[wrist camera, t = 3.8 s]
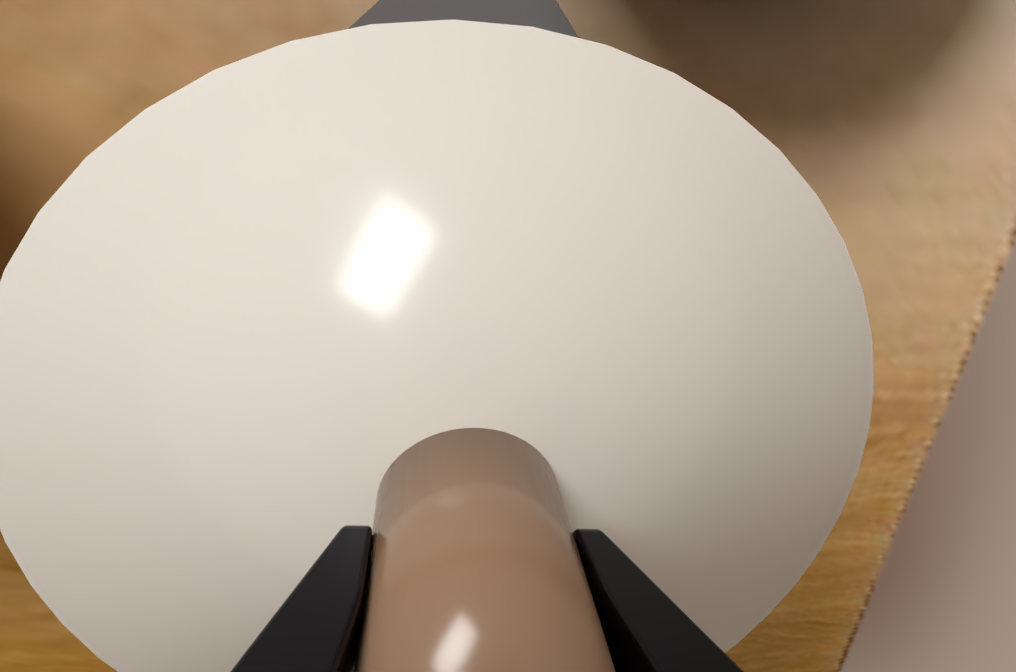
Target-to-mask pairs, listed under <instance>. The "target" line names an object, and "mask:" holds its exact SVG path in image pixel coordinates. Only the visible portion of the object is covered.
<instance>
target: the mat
mask: <svg viewBox="0 0 1016 672" xmlns="http://www.w3.org/2000/svg"><path fill="white" fill-rule="evenodd" d="M452 19H454V20H465V21H476V22H487V23H498V24H509V25H520V26H531V27H536V28H540V29H544V30H548V31H552V32H556V33H560V34H564V35H569V36H573V37H577V38H578V36H577V35H576V33H575V31H574V30H573V28H572V26H571V25H570V23H569V21H568V20H567V18H566V17H565V15H564V13H563V12H562V10H561V8H560V7H559V5H558V3H557V2H556V0H379V1H378V2H377V3H376V4H375V5H374V6H373V7H372V8H371V9H370V10H368V11H367V12H366V13H365V14H364V15H363V16H362V17H361V18H360V19H359V20H357V21H356V22H355V23H354V24H353V25H352V26H351V27H350V28H349V29H351V28H356V27H360V26H365V25H370V24H383V23H401V22H418V21H435V20H452Z"/></svg>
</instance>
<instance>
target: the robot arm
mask: <svg viewBox="0 0 1016 672" xmlns="http://www.w3.org/2000/svg"><path fill="white" fill-rule="evenodd" d="M573 536H574V539H575V542H576V545H577V549H578V552H579V555H580V558H581V562H582V565H583V568H584V571H585V574H586V578H587V581H588V584H589V587H590V590H591V594H592V597H593V600H594V603H595V607H596V610H597V613H598V616H599V619H600V623H601V626H602V629H603V632H604V635H605V639H606V642H607V645H608V648H609V652H610V655H611V658H612V661H613V664H614V668H615V671H616V672H743V671H742V670H741V669H740V668H739V667H738V666H737V665H736V664H735V663H734V662H733V661H732V660H731V659H730V658H729V657H728V656H727V655H726V654H725V653H724V652H723V651H722V650H721V649H720V648H719V647H718V646H717V645H716V644H715V643H714V642H713V641H712V640H711V639H710V638H709V637H708V636H707V635H706V634H705V633H704V632H703V631H702V630H701V629H700V628H699V627H698V626H697V625H696V624H695V623H694V622H693V621H692V620H691V619H690V618H689V617H688V616H687V615H686V614H685V613H684V612H683V611H682V610H681V609H680V608H679V607H678V606H677V605H676V604H675V603H674V602H673V601H672V600H671V599H670V598H669V597H668V596H667V595H666V594H665V593H664V592H663V591H662V590H661V589H660V588H659V587H658V586H657V585H656V584H655V583H654V582H653V581H652V580H651V579H650V578H649V577H648V576H647V575H646V574H645V573H644V572H643V571H642V570H641V569H640V568H639V567H638V566H637V565H636V564H635V563H634V562H633V561H632V560H631V559H630V558H629V557H628V556H627V555H626V554H625V553H624V552H623V551H622V550H621V549H620V548H619V547H618V546H617V545H616V544H615V543H614V542H613V541H612V540H611V539H610V538H609V537H608V536H607V535H606V534H605V533H603V532H602V531H601V530H598V529H576V530H574V532H573ZM371 542H372V528H371V527H370V526H365V525H346V526H344V527H342V528H341V529H340V530H339V532H338V533H337V534H336V535H335V537H334V538H333V539H332V541H331V542H330V543H329V545H328V546H327V547H326V548H325V550H324V551H323V552H322V554H321V555H320V556H319V557H318V559H317V560H316V561H315V563H314V564H313V565H312V566H311V568H310V569H309V570H308V572H307V573H306V574H305V576H304V577H303V578H302V579H301V581H300V582H299V583H298V585H297V586H296V587H295V588H294V590H293V591H292V592H291V594H290V595H289V596H288V597H287V599H286V600H285V601H284V603H283V604H282V605H281V607H280V608H279V609H278V610H277V612H276V613H275V614H274V616H273V617H272V618H271V619H270V621H269V622H268V623H267V625H266V626H265V627H264V629H263V630H262V631H261V632H260V634H259V635H258V636H257V638H256V639H255V640H254V641H253V643H252V644H251V645H250V647H249V648H248V649H247V650H246V652H245V653H244V654H243V656H242V657H241V658H240V660H239V661H238V662H237V663H236V665H235V666H234V667H233V669H232V670H231V671H230V672H354V668H355V660H356V652H357V645H358V637H359V630H360V624H361V618H362V611H363V604H364V596H365V588H366V581H367V573H368V565H369V557H370V549H371Z"/></svg>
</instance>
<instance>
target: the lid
mask: <svg viewBox="0 0 1016 672" xmlns="http://www.w3.org/2000/svg"><path fill="white" fill-rule="evenodd" d="M873 390H874V369H873V343H872V334H871V329H870V324H869V319H868V314H867V309H866V304H865V299H864V294H863V290H862V287H861V284H860V282H859V279H858V276H857V274H856V271H855V268H854V266H853V263H852V260H851V258H850V255H849V252H848V250H847V247H846V244H845V242H844V240H843V238H842V237H841V235H840V233H839V232H838V230H837V228H836V226H835V225H834V223H833V221H832V220H831V218H830V216H829V214H828V213H827V211H826V209H825V207H824V206H823V204H822V202H821V201H820V199H819V197H818V195H817V194H816V193H815V192H814V190H813V189H812V188H811V187H810V186H809V184H808V183H807V182H806V181H805V180H804V178H803V177H802V176H801V175H800V174H799V172H798V171H797V170H796V169H795V168H794V166H793V165H792V164H791V163H790V162H789V160H788V159H787V158H786V157H785V155H784V154H783V153H782V152H781V151H780V150H779V149H778V148H777V147H776V146H775V145H774V144H772V143H771V142H770V141H769V140H768V139H767V138H766V137H764V136H763V135H762V134H761V133H760V132H759V131H757V130H756V129H755V128H754V127H753V126H752V125H751V124H749V123H748V122H747V121H746V120H745V119H744V118H742V117H741V116H740V115H739V114H738V113H737V112H735V111H734V110H733V109H732V108H730V107H729V106H727V105H726V104H724V103H722V102H721V101H719V100H717V99H716V98H714V97H713V96H711V95H709V94H708V93H706V92H704V91H703V90H701V89H700V88H698V87H696V86H695V85H693V84H691V83H690V82H688V81H687V80H685V79H683V78H682V77H680V76H678V75H677V74H675V73H673V72H671V71H668V70H666V69H664V68H661V67H659V66H656V65H654V64H652V63H649V62H647V61H644V60H642V59H640V58H637V57H635V56H632V55H630V54H628V53H625V52H623V51H620V50H618V49H616V48H613V47H611V46H608V45H605V44H601V43H597V42H593V41H589V40H585V39H581V38H577V37H573V36H569V35H564V34H560V33H556V32H552V31H548V30H544V29H540V28H536V27H531V26H520V25H509V24H498V23H487V22H476V21H465V20H454V19H452V20H435V21H418V22H401V23H383V24H370V25H365V26H360V27H356V28H351V29H346V30H341V31H337V32H332V33H327V34H322V35H318V36H313V37H308V38H303V39H299V40H294V41H290V42H287V43H284V44H282V45H279V46H276V47H274V48H271V49H268V50H266V51H263V52H260V53H258V54H255V55H253V56H250V57H247V58H245V59H242V60H239V61H237V62H234V63H231V64H229V65H226V66H223V67H221V68H218V69H215V70H213V71H211V72H210V73H208V74H206V75H204V76H203V77H201V78H199V79H197V80H196V81H194V82H192V83H190V84H189V85H187V86H185V87H183V88H182V89H180V90H178V91H176V92H175V93H173V94H171V95H169V96H168V97H166V98H164V99H162V100H161V101H159V102H157V103H155V104H154V105H152V106H150V107H148V108H147V109H145V110H144V111H142V112H141V113H140V114H139V115H137V116H136V117H135V118H134V119H132V120H131V121H130V122H129V123H128V124H126V125H125V126H124V127H123V128H121V129H120V130H119V131H118V132H116V133H115V134H114V135H113V136H112V137H110V138H109V139H108V140H107V141H105V142H104V143H103V144H102V145H101V146H99V147H98V148H97V149H96V150H94V151H93V152H92V153H91V154H89V155H88V156H87V157H86V158H85V159H84V160H83V161H82V162H81V164H80V165H79V166H78V167H77V168H76V169H75V171H74V172H73V173H72V174H71V175H70V176H69V177H68V179H67V180H66V181H65V182H64V183H63V184H62V186H61V187H60V188H59V189H58V190H57V191H56V192H55V194H54V195H53V196H52V197H51V198H50V199H49V200H48V202H47V203H46V204H45V205H44V206H43V207H42V209H41V210H40V211H39V212H38V214H37V216H36V217H35V219H34V221H33V222H32V224H31V226H30V227H29V229H28V231H27V233H26V234H25V236H24V238H23V239H22V241H21V243H20V244H19V246H18V248H17V249H16V251H15V253H14V254H13V256H12V258H11V259H10V261H9V263H8V264H7V266H6V268H5V270H4V273H3V275H2V278H1V281H0V530H1V533H2V535H3V538H4V540H5V543H6V544H7V546H8V548H9V549H10V551H11V553H12V554H13V556H14V558H15V559H16V561H17V563H18V564H19V566H20V568H21V569H22V571H23V573H24V574H25V576H26V578H27V579H28V581H29V583H30V585H31V586H32V587H33V588H34V590H35V591H36V592H37V593H38V595H39V596H40V597H41V598H42V600H43V601H44V602H45V603H46V604H47V606H48V607H49V608H50V609H51V611H52V612H53V613H54V614H55V615H56V617H57V618H58V619H59V620H60V622H61V623H62V624H63V625H64V626H65V627H66V628H67V629H68V630H69V631H71V632H72V633H73V634H74V635H75V636H76V637H77V638H78V639H79V640H80V641H81V642H82V643H83V644H84V645H85V646H86V647H88V648H89V649H90V650H91V651H92V652H93V653H94V654H95V655H96V656H97V657H98V658H100V659H101V660H103V661H104V662H105V663H107V664H108V665H109V666H111V667H112V668H114V669H115V670H116V671H118V672H230V671H231V670H232V669H233V667H234V666H235V665H236V663H237V662H238V661H239V660H240V658H241V657H242V656H243V654H244V653H245V652H246V650H247V649H248V648H249V647H250V645H251V644H252V643H253V641H254V640H255V639H256V638H257V636H258V635H259V634H260V632H261V631H262V630H263V629H264V627H265V626H266V625H267V623H268V622H269V621H270V619H271V618H272V617H273V616H274V614H275V613H276V612H277V610H278V609H279V608H280V607H281V605H282V604H283V603H284V601H285V600H286V599H287V597H288V596H289V595H290V594H291V592H292V591H293V590H294V588H295V587H296V586H297V585H298V583H299V582H300V581H301V579H302V578H303V577H304V576H305V574H306V573H307V572H308V570H309V569H310V568H311V566H312V565H313V564H314V563H315V561H316V560H317V559H318V557H319V556H320V555H321V554H322V552H323V551H324V550H325V548H326V547H327V546H328V545H329V543H330V542H331V541H332V539H333V538H334V537H335V535H336V534H337V533H338V532H339V530H340V529H341V528H342V527H344V526H346V525H365V526H370V527H371V528H372V542H371V549H370V557H369V565H368V573H367V581H366V588H365V596H364V604H363V611H362V618H361V624H360V630H359V637H358V645H357V652H356V660H355V668H354V672H616V671H615V668H614V664H613V661H612V658H611V655H610V652H609V648H608V645H607V642H606V639H605V635H604V632H603V629H602V626H601V623H600V619H599V616H598V613H597V610H596V607H595V603H594V600H593V597H592V594H591V590H590V587H589V584H588V581H587V578H586V574H585V571H584V568H583V565H582V562H581V558H580V555H579V552H578V549H577V545H576V542H575V539H574V536H573V532H574V530H576V529H598V530H601V531H602V532H603V533H605V534H606V535H607V536H608V537H609V538H610V539H611V540H612V541H613V542H614V543H615V544H616V545H617V546H618V547H619V548H620V549H621V550H622V551H623V552H624V553H625V554H626V555H627V556H628V557H629V558H630V559H631V560H632V561H633V562H634V563H635V564H636V565H637V566H638V567H639V568H640V569H641V570H642V571H643V572H644V573H645V574H646V575H647V576H648V577H649V578H650V579H651V580H652V581H653V582H654V583H655V584H656V585H657V586H658V587H659V588H660V589H661V590H662V591H663V592H664V593H665V594H666V595H667V596H668V597H669V598H670V599H671V600H672V601H673V602H674V603H675V604H676V605H677V606H678V607H679V608H680V609H681V610H682V611H683V612H684V613H685V614H686V615H687V616H688V617H689V618H690V619H691V620H692V621H693V622H694V623H695V624H696V625H697V626H698V627H699V628H700V629H701V630H702V631H703V632H704V633H705V634H706V635H707V636H708V637H709V638H710V639H711V640H712V641H713V642H714V643H715V644H716V645H717V646H718V647H719V648H720V649H721V650H722V651H723V652H724V653H726V652H727V651H728V650H730V649H731V648H732V647H734V646H735V645H736V644H737V643H739V642H740V641H741V640H742V639H743V638H744V637H745V636H746V635H748V634H749V633H750V632H751V631H752V630H753V629H754V628H755V627H756V626H757V625H758V624H759V623H760V622H762V621H763V620H764V619H765V618H766V617H767V616H768V615H769V614H770V613H771V612H772V611H773V610H774V609H775V607H776V606H777V605H778V604H779V603H780V602H781V601H782V599H783V598H784V597H785V596H786V595H787V594H788V593H789V592H790V590H791V589H792V588H793V587H794V586H795V585H796V584H797V582H798V581H799V580H800V578H801V577H802V575H803V574H804V573H805V571H806V570H807V568H808V567H809V566H810V564H811V563H812V561H813V560H814V559H815V557H816V556H817V554H818V553H819V552H820V550H821V549H822V547H823V545H824V543H825V542H826V540H827V538H828V536H829V534H830V533H831V531H832V529H833V527H834V525H835V524H836V522H837V520H838V518H839V516H840V514H841V513H842V511H843V508H844V506H845V503H846V501H847V498H848V496H849V493H850V491H851V488H852V486H853V483H854V481H855V478H856V476H857V473H858V470H859V467H860V463H861V459H862V455H863V451H864V447H865V443H866V439H867V436H868V432H869V426H870V417H871V408H872V399H873Z"/></svg>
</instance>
